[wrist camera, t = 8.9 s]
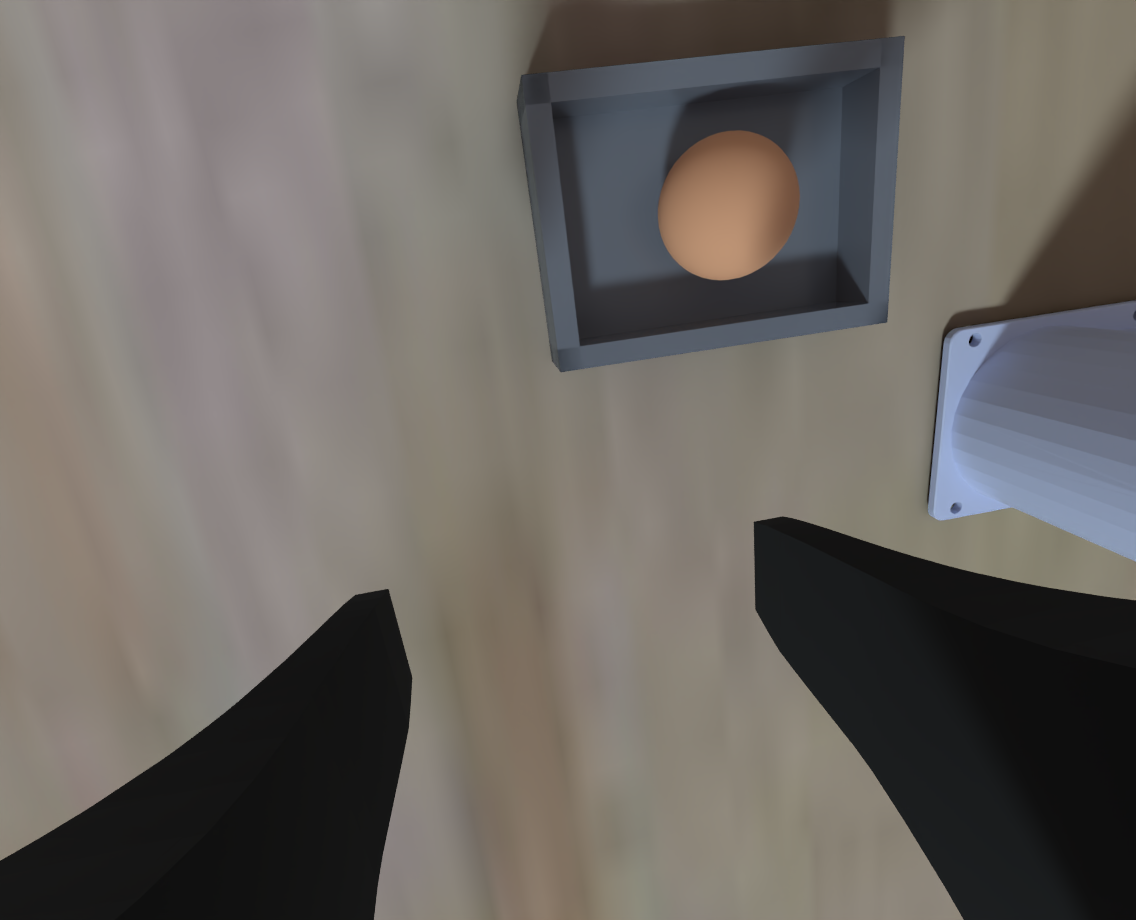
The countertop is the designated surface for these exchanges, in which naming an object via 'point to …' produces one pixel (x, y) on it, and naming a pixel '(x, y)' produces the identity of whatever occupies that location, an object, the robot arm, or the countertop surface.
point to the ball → (728, 205)
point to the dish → (638, 171)
